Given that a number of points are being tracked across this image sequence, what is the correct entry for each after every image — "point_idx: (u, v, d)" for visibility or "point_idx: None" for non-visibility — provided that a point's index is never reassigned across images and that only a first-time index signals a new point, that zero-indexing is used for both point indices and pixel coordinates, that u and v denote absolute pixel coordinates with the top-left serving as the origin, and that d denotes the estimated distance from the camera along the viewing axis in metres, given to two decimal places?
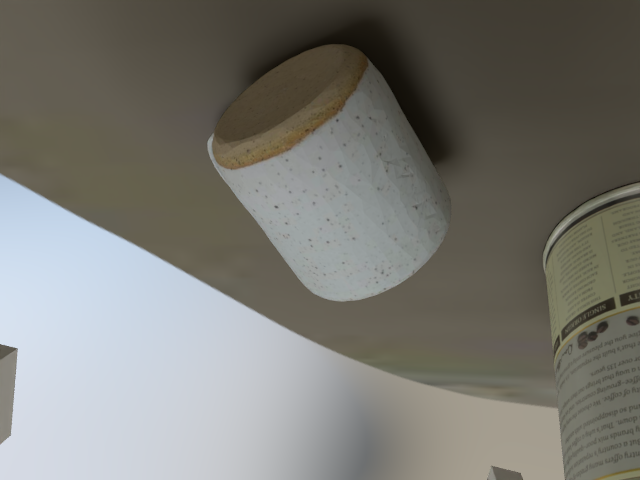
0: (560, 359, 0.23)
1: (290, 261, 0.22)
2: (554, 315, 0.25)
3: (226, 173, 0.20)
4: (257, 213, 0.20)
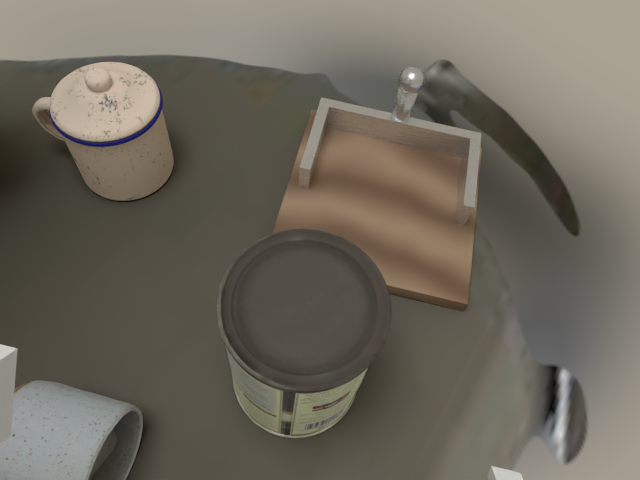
0: (244, 392, 0.36)
1: (48, 479, 0.32)
2: (247, 403, 0.38)
3: None
4: (9, 458, 0.33)
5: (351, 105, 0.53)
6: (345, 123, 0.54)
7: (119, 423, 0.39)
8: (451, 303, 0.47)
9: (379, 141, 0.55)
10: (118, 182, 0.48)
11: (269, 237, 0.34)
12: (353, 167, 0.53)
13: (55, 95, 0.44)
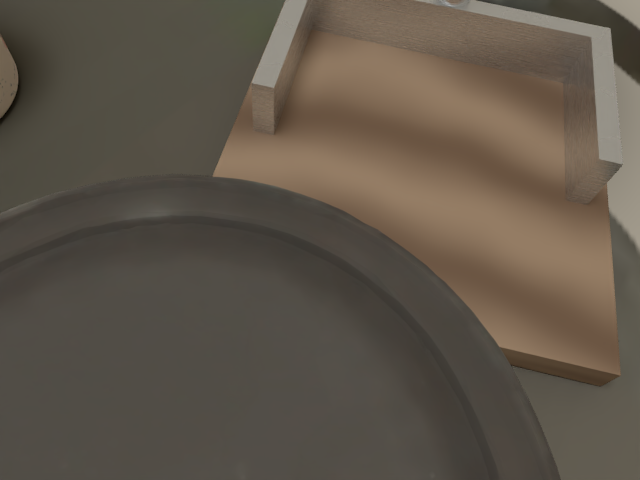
0: None
1: None
2: None
3: None
4: None
5: None
6: (346, 16, 0.29)
7: None
8: (580, 371, 0.21)
9: (410, 53, 0.30)
10: None
11: (41, 206, 0.08)
12: (362, 96, 0.28)
13: None
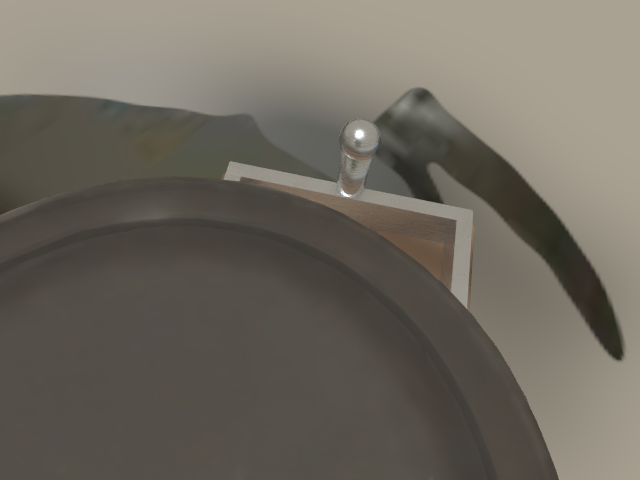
0: None
1: None
2: None
3: None
4: None
5: (275, 173, 0.35)
6: None
7: None
8: None
9: None
10: None
11: (39, 208, 0.08)
12: None
13: None
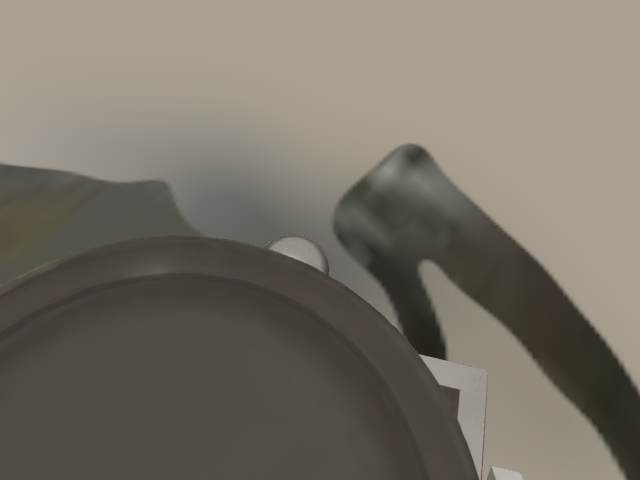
0: None
1: None
2: None
3: None
4: None
5: None
6: None
7: None
8: None
9: None
10: None
11: (60, 266, 0.10)
12: None
13: None
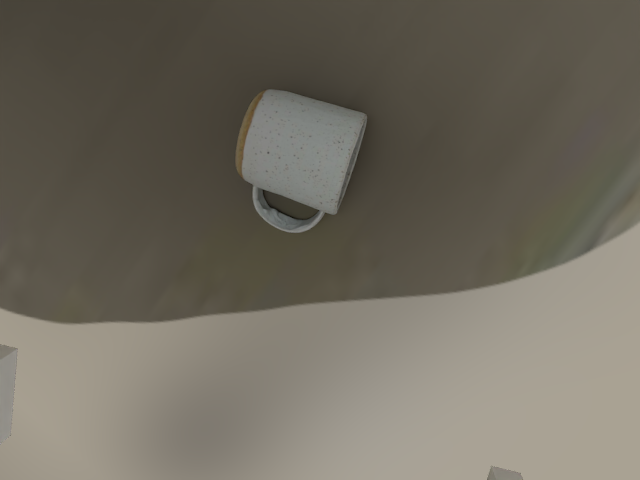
0: None
1: (306, 188, 0.37)
2: None
3: (245, 167, 0.38)
4: (268, 171, 0.37)
5: None
6: None
7: None
8: None
9: None
10: None
11: None
12: None
13: None
